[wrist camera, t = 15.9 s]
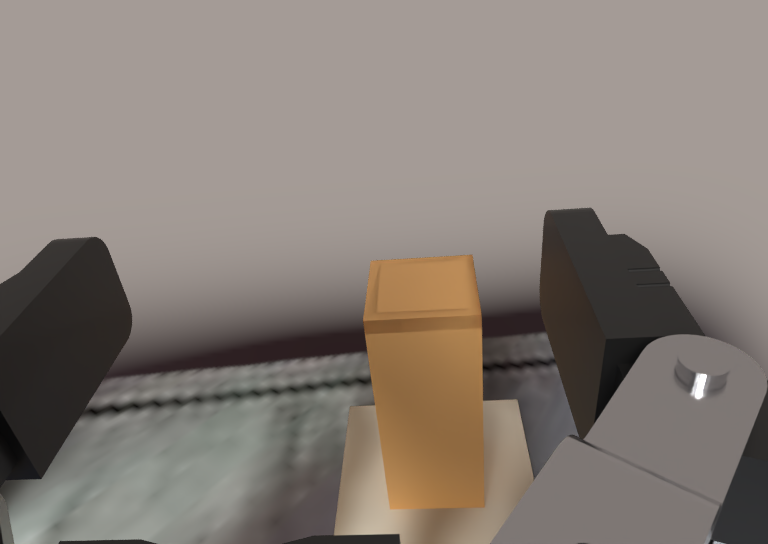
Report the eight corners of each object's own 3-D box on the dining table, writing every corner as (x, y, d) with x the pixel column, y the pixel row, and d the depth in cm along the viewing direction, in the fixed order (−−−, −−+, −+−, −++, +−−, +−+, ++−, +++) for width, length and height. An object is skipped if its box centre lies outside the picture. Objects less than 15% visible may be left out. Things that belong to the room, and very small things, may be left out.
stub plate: (334, 576, 34) (318, 508, 31) (352, 421, 44) (341, 358, 41) (548, 572, 33) (554, 502, 30) (516, 414, 43) (518, 349, 40)
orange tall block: (390, 509, 36) (363, 320, 29) (393, 438, 41) (370, 260, 33) (484, 507, 35) (481, 314, 28) (476, 435, 40) (472, 254, 33)
